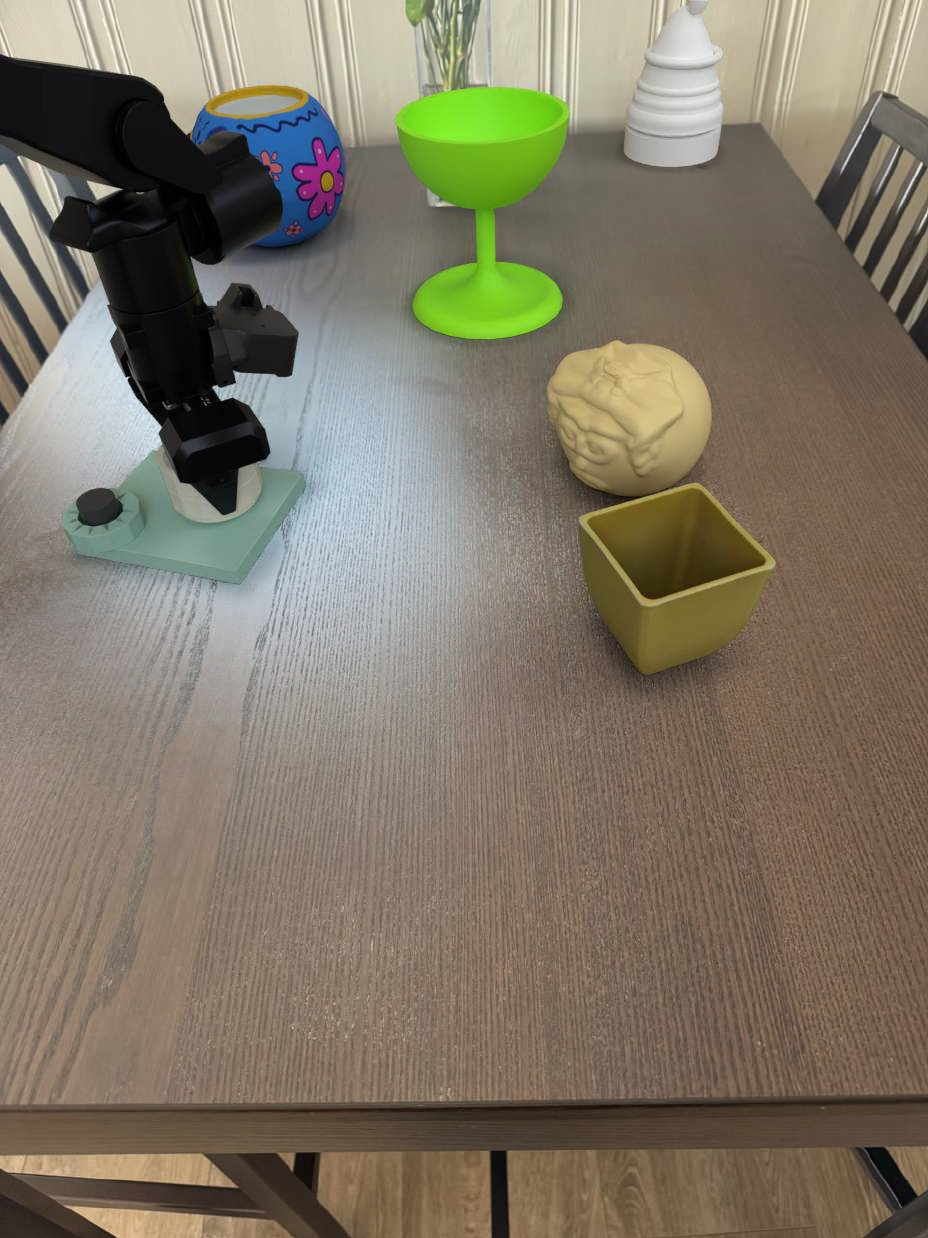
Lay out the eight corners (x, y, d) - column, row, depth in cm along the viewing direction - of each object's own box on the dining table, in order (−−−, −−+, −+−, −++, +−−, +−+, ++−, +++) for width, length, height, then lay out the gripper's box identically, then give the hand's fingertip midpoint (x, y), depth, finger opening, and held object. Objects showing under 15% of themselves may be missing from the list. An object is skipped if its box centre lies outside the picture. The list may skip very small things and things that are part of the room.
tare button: (75, 524, 65) (68, 507, 64) (96, 501, 67) (89, 485, 66) (107, 529, 65) (100, 513, 64) (128, 506, 67) (121, 490, 65)
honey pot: (737, 152, 119) (764, -7, 106) (663, 174, 115) (681, 10, 102) (676, 128, 127) (694, -24, 114) (604, 147, 123) (614, -8, 110)
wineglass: (393, 332, 89) (372, 140, 76) (434, 263, 99) (421, 84, 86) (548, 345, 86) (554, 147, 73) (573, 272, 96) (582, 88, 83)
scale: (61, 559, 67) (45, 529, 64) (148, 461, 75) (137, 432, 73) (235, 592, 63) (225, 562, 61) (306, 486, 72) (299, 456, 69)
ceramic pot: (188, 233, 108) (151, 98, 97) (315, 197, 115) (294, 66, 104) (244, 283, 98) (210, 138, 87) (381, 241, 104) (365, 100, 93)
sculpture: (524, 470, 72) (525, 351, 64) (624, 413, 77) (636, 296, 69) (627, 537, 65) (642, 414, 58) (729, 470, 70) (755, 349, 63)
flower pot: (568, 614, 60) (575, 513, 54) (680, 580, 62) (699, 478, 56) (629, 708, 54) (644, 607, 48) (750, 666, 56) (780, 564, 50)
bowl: (156, 518, 67) (138, 470, 63) (200, 464, 71) (185, 417, 68) (238, 532, 65) (224, 483, 62) (278, 476, 70) (266, 428, 66)
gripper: (324, 318, 53) (357, 518, 64) (229, 216, 64) (272, 400, 76) (142, 370, 49) (211, 571, 61) (76, 252, 61) (145, 439, 72)
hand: (214, 486), depth 67 cm, fingers closed on bowl, 7 cm apart
